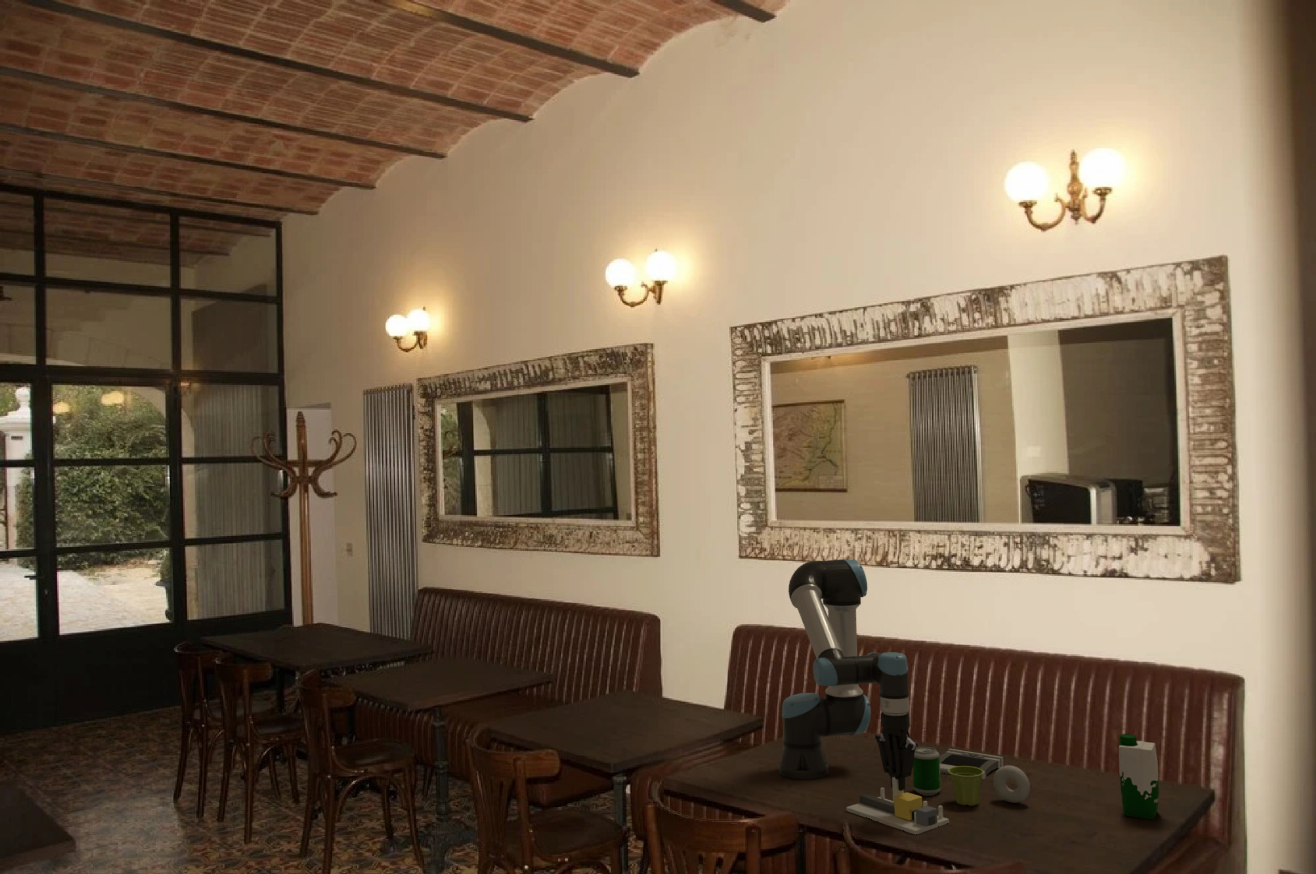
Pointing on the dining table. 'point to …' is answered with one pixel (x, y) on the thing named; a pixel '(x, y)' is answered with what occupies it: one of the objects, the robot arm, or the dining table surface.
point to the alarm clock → (969, 761)
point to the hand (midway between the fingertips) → (898, 801)
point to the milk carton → (1138, 777)
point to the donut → (1020, 779)
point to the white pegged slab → (885, 814)
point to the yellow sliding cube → (906, 805)
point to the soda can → (926, 771)
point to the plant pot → (966, 784)
